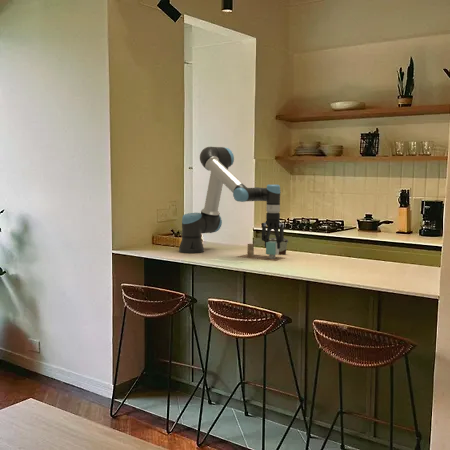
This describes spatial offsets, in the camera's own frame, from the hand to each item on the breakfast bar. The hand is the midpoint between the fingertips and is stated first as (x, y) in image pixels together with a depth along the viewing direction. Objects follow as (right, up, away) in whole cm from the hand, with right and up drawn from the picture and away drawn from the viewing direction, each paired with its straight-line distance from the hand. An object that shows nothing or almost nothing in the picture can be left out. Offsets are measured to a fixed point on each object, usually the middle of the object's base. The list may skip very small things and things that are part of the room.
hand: (272, 253), depth 313 cm
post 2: (0, -3, 0) cm, 3 cm away
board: (-6, -3, +4) cm, 8 cm away
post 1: (-12, -2, +8) cm, 14 cm away
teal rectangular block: (0, 0, 0) cm, 0 cm away
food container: (+5, -2, +19) cm, 19 cm away
